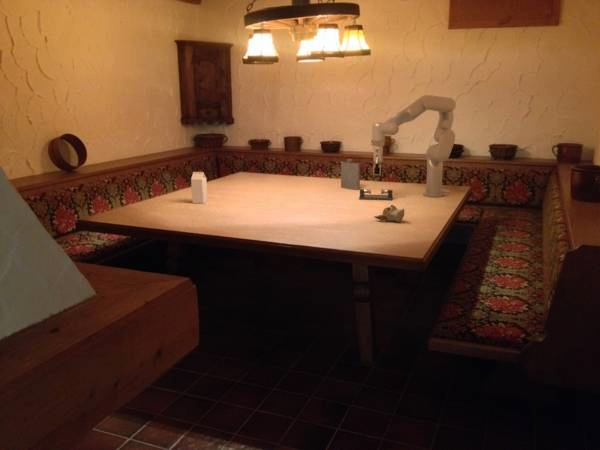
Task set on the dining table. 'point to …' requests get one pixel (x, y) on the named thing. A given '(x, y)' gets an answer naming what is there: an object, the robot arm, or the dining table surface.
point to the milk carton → (199, 187)
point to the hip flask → (350, 175)
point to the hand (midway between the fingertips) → (377, 173)
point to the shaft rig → (375, 197)
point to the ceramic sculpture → (391, 214)
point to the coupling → (379, 167)
